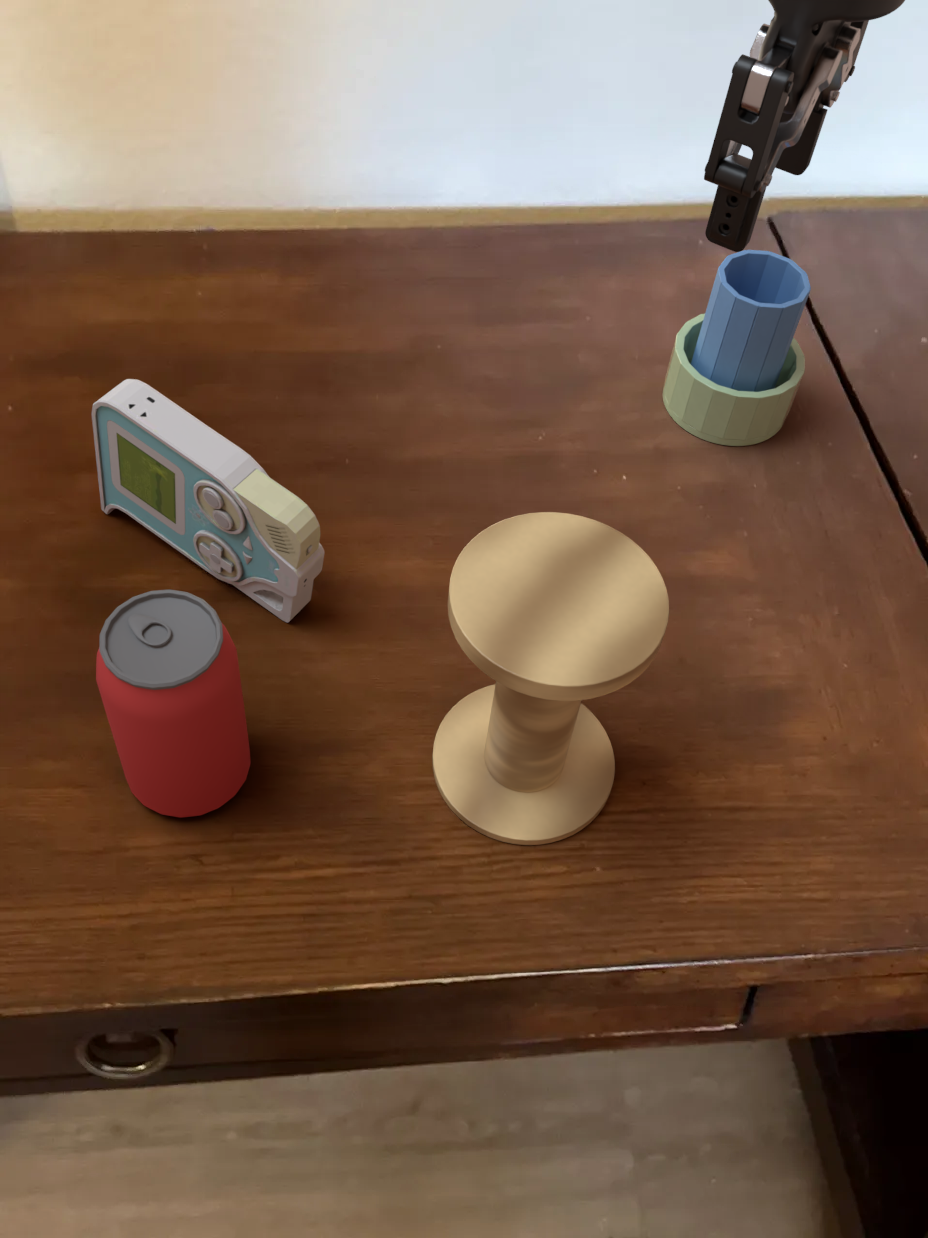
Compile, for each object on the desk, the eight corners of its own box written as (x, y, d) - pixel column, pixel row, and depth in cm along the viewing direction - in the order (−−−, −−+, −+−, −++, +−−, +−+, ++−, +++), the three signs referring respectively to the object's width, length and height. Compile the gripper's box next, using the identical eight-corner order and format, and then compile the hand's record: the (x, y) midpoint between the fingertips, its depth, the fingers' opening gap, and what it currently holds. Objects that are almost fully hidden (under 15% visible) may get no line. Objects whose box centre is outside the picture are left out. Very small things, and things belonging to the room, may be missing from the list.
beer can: (186, 695, 68) (159, 557, 58) (277, 758, 66) (264, 626, 56) (99, 777, 64) (55, 645, 55) (192, 846, 62) (163, 721, 53)
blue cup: (779, 388, 86) (822, 271, 78) (748, 436, 83) (790, 319, 75) (704, 356, 87) (739, 238, 79) (671, 402, 84) (705, 284, 76)
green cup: (804, 390, 87) (823, 341, 83) (758, 465, 82) (776, 416, 78) (692, 343, 89) (706, 293, 86) (641, 413, 84) (654, 363, 81)
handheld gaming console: (287, 649, 72) (97, 513, 75) (316, 619, 74) (129, 487, 77) (301, 540, 63) (84, 389, 66) (334, 509, 65) (120, 362, 67)
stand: (643, 739, 68) (704, 569, 56) (561, 879, 63) (610, 724, 51) (488, 659, 71) (516, 481, 59) (397, 787, 65) (407, 619, 53)
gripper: (887, -39, 47) (771, 300, 60) (988, -155, 55) (867, 167, 68) (711, -96, 49) (636, 244, 62) (833, -200, 57) (744, 121, 70)
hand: (757, 204), depth 65 cm, fingers open, 8 cm apart
